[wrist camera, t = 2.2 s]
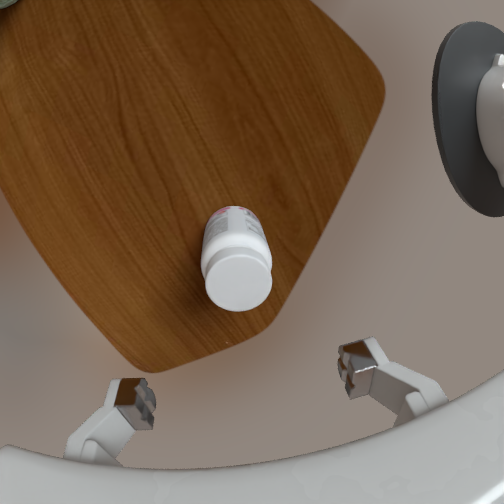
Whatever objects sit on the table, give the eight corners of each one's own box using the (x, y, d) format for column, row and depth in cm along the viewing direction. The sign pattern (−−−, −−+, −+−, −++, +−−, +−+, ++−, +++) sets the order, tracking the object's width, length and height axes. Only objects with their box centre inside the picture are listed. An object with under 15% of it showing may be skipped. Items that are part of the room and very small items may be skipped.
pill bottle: (206, 258, 26) (201, 318, 18) (203, 205, 24) (194, 249, 16) (260, 256, 26) (276, 315, 19) (262, 204, 24) (280, 247, 17)
